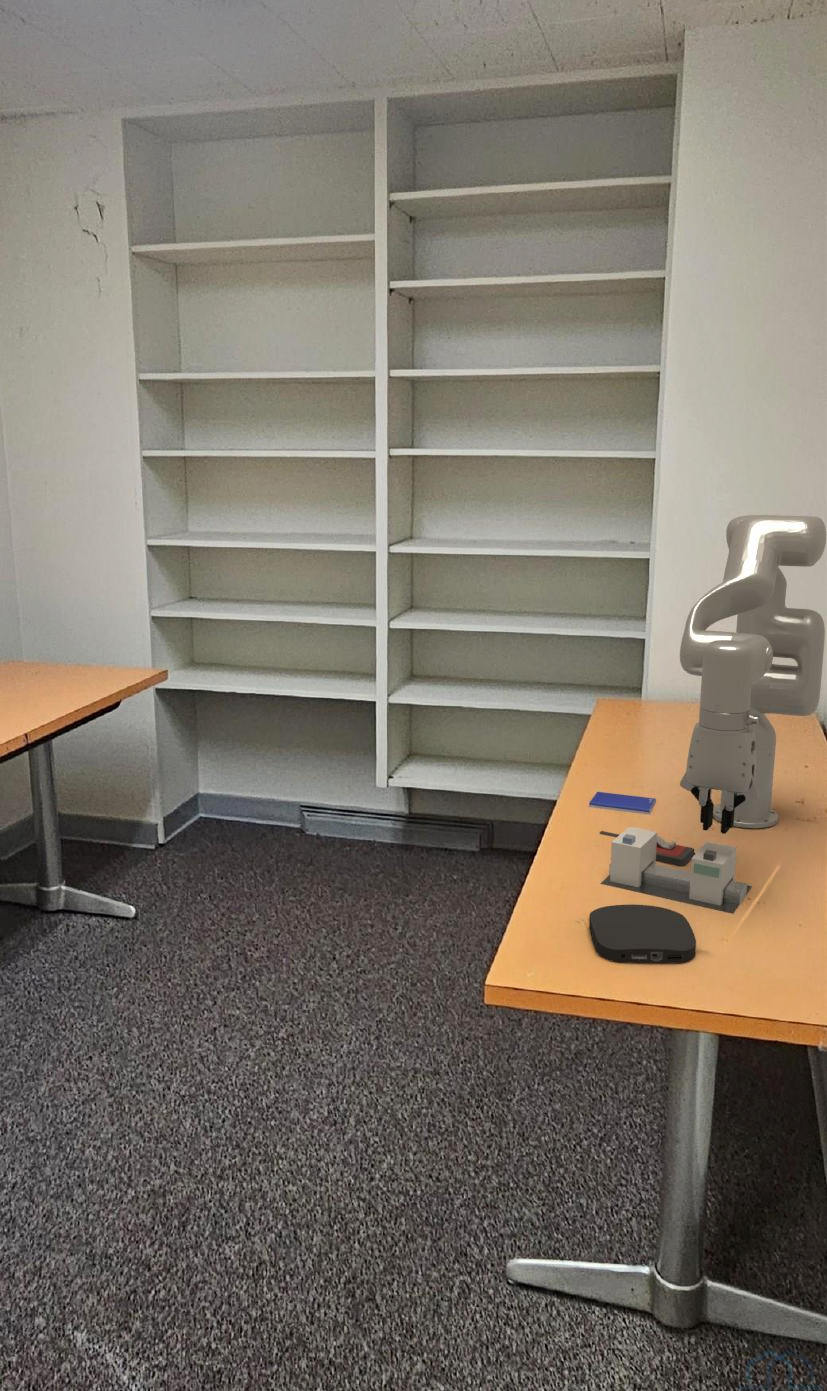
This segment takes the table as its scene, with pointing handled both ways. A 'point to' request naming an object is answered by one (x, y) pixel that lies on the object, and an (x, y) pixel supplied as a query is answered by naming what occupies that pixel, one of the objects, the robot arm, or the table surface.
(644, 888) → the rail plate
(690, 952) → the media streaming box
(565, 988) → the table surface
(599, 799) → the hard drive
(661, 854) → the walkie-talkie
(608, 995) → the table surface
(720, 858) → the block
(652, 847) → the mounted module
